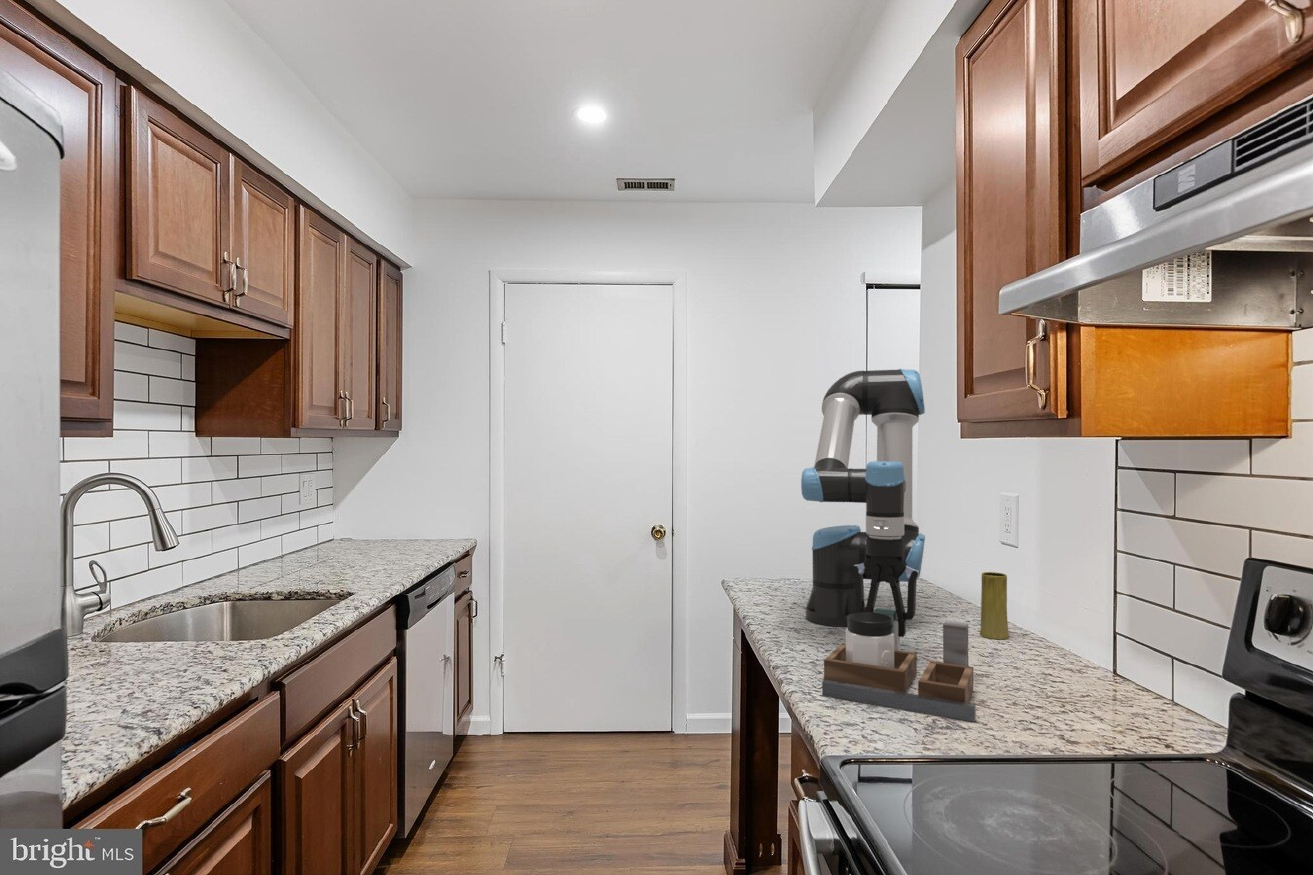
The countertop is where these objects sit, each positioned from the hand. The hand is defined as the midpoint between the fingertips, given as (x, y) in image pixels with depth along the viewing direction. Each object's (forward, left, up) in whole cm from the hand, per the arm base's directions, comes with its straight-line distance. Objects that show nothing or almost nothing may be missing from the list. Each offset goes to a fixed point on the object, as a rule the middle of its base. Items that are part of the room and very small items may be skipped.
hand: (885, 650), depth 150 cm
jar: (+14, 0, -2) cm, 14 cm away
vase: (-31, +18, -2) cm, 36 cm away
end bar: (+25, +7, -2) cm, 26 cm away
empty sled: (+12, +14, -2) cm, 19 cm away
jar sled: (+9, 0, -2) cm, 9 cm away
